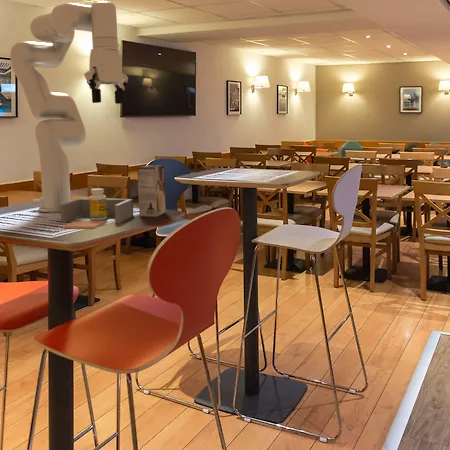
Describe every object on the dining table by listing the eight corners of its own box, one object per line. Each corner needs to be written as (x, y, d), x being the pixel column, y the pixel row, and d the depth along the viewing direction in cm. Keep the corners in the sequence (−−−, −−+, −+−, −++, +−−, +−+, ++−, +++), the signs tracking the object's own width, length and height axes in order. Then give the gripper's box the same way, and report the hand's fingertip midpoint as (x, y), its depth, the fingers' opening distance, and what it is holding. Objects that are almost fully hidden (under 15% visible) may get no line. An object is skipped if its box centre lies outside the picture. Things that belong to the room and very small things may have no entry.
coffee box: (148, 212, 199) (146, 165, 196) (166, 212, 198) (164, 165, 195) (138, 216, 190) (136, 167, 187) (157, 216, 189) (156, 166, 186)
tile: (63, 228, 170) (63, 226, 170) (75, 223, 178) (75, 221, 178) (93, 228, 168) (93, 226, 168) (103, 223, 177) (103, 221, 177)
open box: (61, 222, 180) (60, 205, 179) (79, 215, 194) (78, 198, 193) (119, 223, 177) (118, 205, 176) (133, 215, 192) (132, 199, 191)
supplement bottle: (98, 217, 190) (96, 187, 188) (111, 218, 187) (109, 188, 186) (86, 219, 185) (85, 189, 183) (99, 220, 183) (98, 190, 181)
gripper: (116, 49, 186) (119, 104, 189) (74, 43, 172) (78, 102, 175) (134, 47, 182) (136, 103, 185) (92, 40, 168) (96, 101, 171)
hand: (108, 103), depth 180 cm, fingers open, 9 cm apart
